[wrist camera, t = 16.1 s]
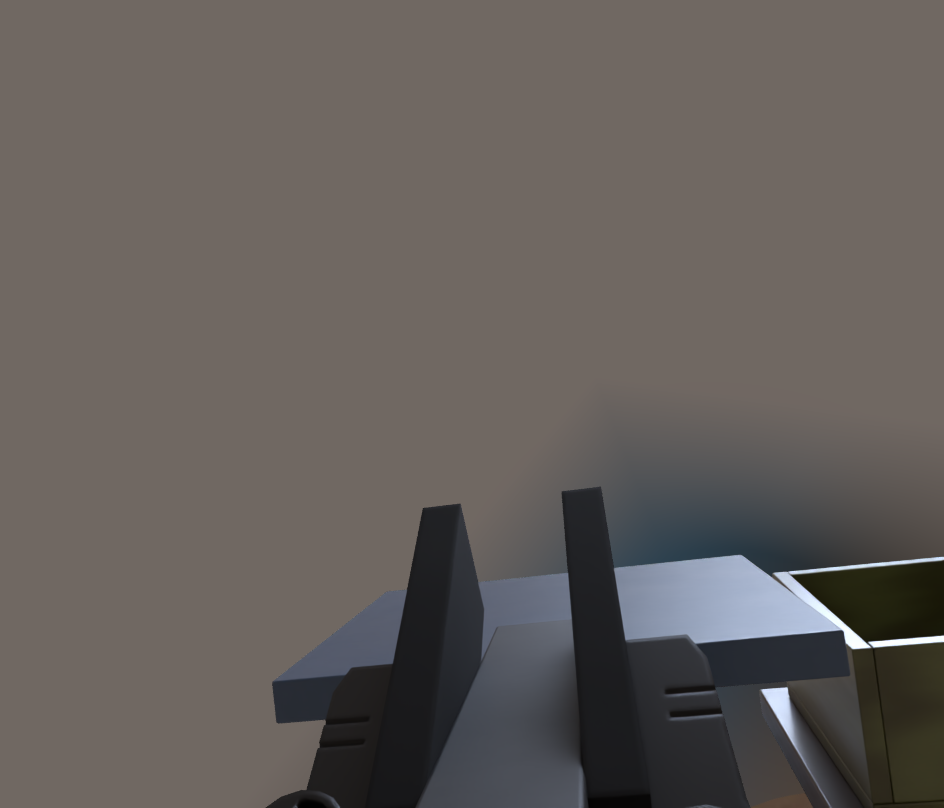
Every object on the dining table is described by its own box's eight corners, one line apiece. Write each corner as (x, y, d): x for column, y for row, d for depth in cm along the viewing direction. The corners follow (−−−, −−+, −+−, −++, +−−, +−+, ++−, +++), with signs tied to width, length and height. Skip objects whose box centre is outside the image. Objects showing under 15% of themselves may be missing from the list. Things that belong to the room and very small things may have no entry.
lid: (-75, 1052, 9) (-88, 885, 9) (389, 618, 29) (383, 570, 30) (1237, 1019, 7) (1199, 810, 7) (745, 582, 28) (738, 532, 28)
